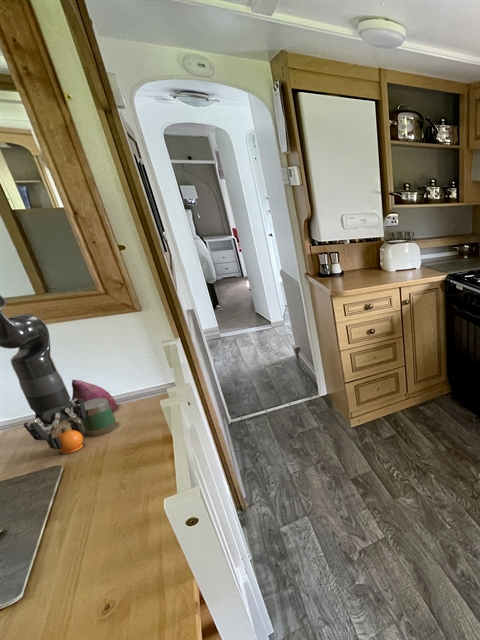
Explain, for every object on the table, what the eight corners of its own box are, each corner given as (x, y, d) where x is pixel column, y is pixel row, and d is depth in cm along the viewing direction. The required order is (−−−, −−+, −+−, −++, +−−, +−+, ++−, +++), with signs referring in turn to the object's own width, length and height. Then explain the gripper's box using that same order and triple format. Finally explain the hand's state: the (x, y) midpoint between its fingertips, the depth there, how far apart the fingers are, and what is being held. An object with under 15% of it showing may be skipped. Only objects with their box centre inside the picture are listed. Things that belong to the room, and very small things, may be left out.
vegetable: (93, 430, 121) (64, 397, 112) (72, 419, 124) (43, 387, 115) (127, 408, 129) (103, 376, 120) (107, 399, 132) (82, 366, 122)
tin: (79, 435, 113) (68, 410, 110) (100, 422, 120) (90, 397, 116) (103, 436, 113) (92, 410, 110) (123, 423, 120) (114, 398, 116)
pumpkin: (51, 455, 105) (41, 434, 102) (71, 442, 110) (62, 422, 107) (72, 455, 105) (63, 434, 102) (91, 442, 110) (83, 422, 108)
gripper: (57, 377, 107) (79, 427, 113) (-1, 402, 93) (28, 457, 100) (84, 377, 107) (104, 427, 113) (29, 402, 93) (56, 458, 100)
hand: (68, 441), depth 106 cm, fingers closed on pumpkin, 5 cm apart
